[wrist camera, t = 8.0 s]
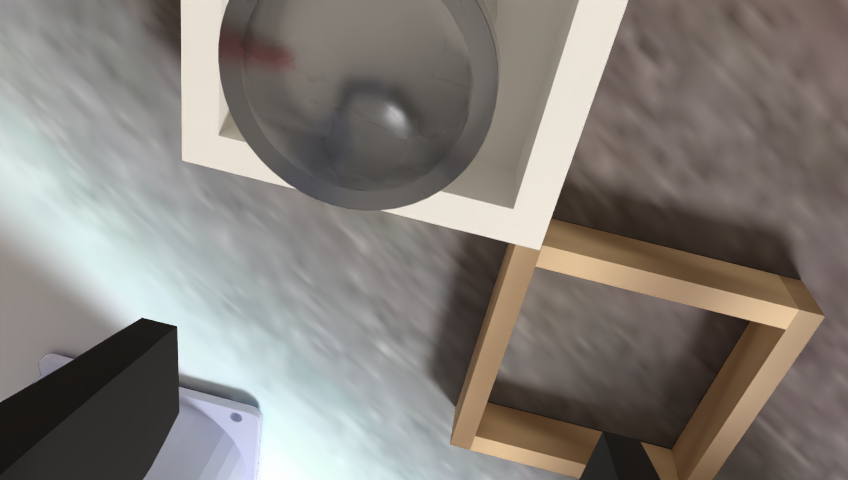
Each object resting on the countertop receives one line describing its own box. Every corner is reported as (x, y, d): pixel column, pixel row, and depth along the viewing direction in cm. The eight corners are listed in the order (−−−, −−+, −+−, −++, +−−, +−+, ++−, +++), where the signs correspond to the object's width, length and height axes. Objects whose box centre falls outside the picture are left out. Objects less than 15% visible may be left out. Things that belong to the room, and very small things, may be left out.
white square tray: (228, 122, 20) (182, 159, 17) (241, -282, 14) (178, -314, 12) (539, 200, 19) (539, 250, 17) (667, -183, 14) (696, -195, 12)
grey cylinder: (329, 82, 18) (225, 187, 12) (336, -108, 15) (208, -96, 10) (495, 109, 18) (473, 230, 12) (529, -82, 15) (522, -51, 9)
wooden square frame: (455, 408, 24) (450, 444, 23) (518, 210, 20) (517, 238, 18) (683, 467, 24) (692, 507, 23) (802, 280, 19) (825, 316, 18)
